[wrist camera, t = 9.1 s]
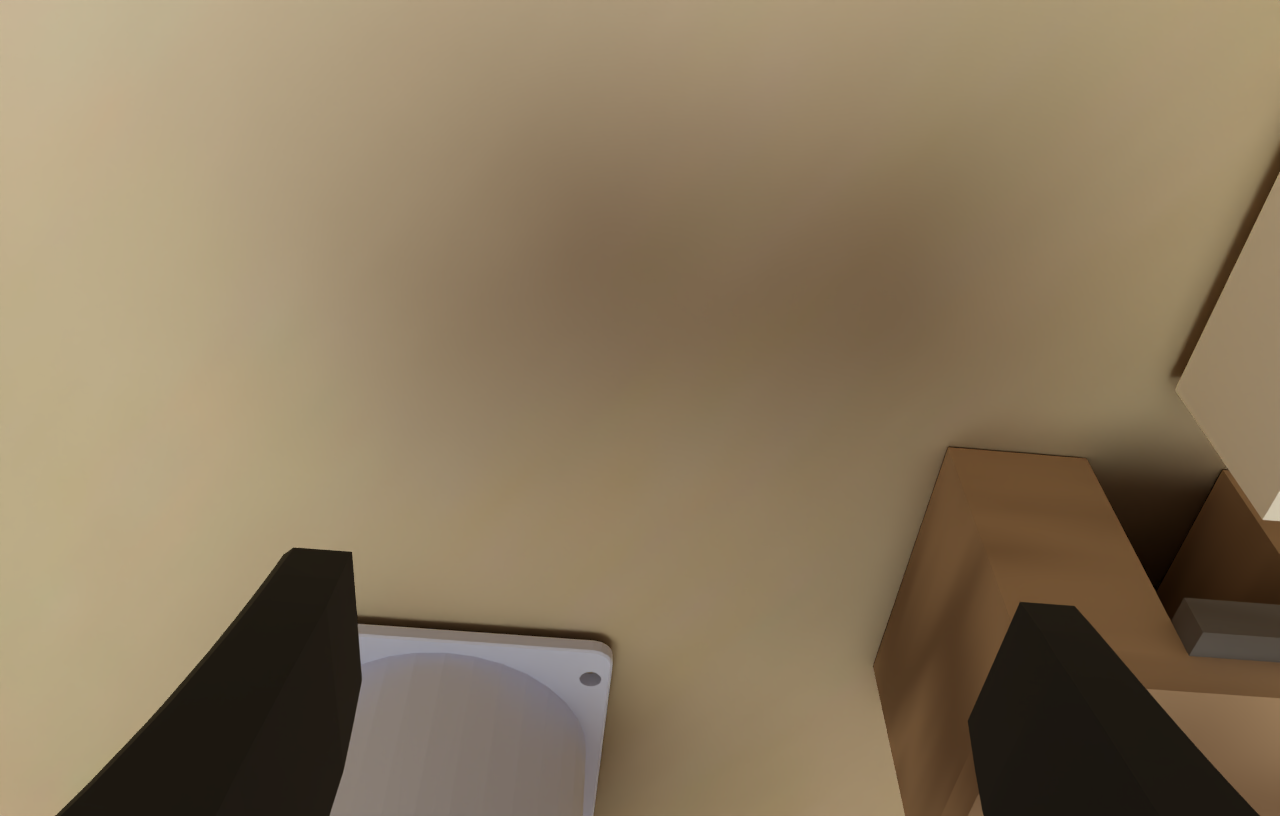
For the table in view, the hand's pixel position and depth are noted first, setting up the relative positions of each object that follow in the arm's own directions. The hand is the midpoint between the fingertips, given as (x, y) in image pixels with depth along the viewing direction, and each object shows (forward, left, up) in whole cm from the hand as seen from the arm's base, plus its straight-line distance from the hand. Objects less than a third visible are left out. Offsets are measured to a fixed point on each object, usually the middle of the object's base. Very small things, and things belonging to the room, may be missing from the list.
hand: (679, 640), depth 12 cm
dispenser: (-8, -11, -10) cm, 17 cm away
